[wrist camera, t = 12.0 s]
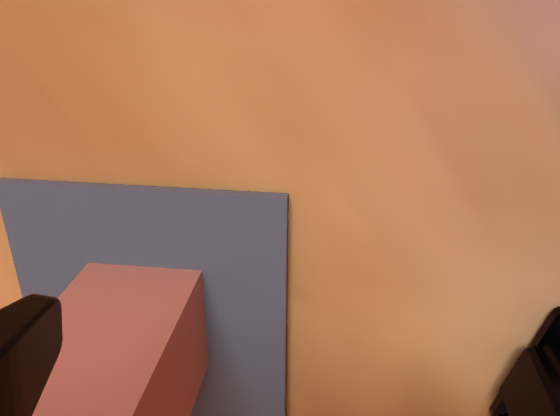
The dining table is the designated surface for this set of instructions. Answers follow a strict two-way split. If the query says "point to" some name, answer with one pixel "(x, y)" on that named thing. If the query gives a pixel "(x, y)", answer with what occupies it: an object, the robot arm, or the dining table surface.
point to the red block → (129, 343)
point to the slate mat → (173, 254)
